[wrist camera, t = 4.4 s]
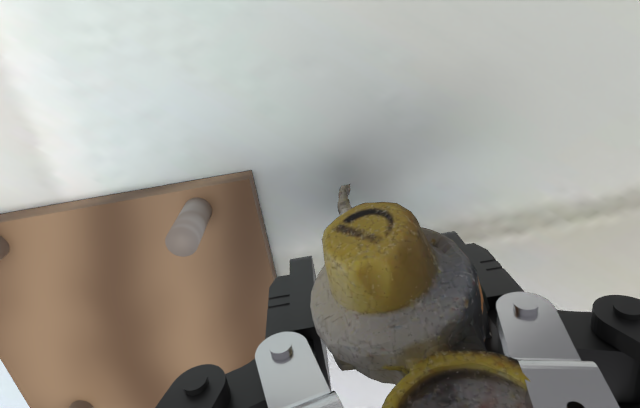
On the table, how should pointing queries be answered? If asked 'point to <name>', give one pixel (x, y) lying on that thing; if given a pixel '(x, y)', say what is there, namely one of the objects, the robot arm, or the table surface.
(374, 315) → the regulator
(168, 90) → the table surface
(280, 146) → the table surface
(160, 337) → the pin tray
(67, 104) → the table surface
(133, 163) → the table surface
